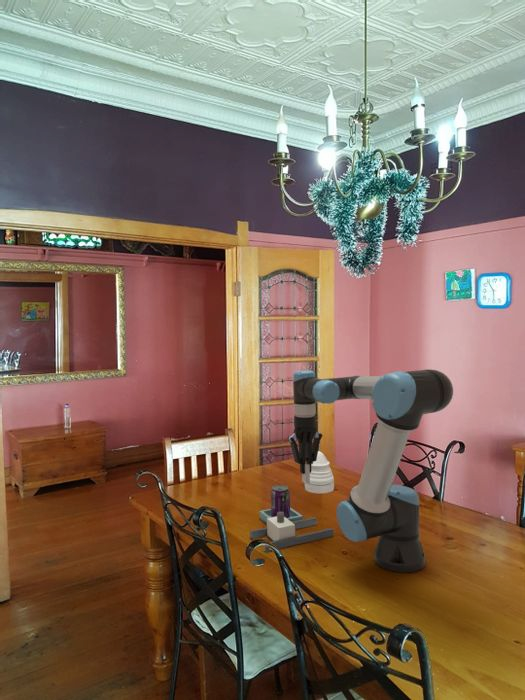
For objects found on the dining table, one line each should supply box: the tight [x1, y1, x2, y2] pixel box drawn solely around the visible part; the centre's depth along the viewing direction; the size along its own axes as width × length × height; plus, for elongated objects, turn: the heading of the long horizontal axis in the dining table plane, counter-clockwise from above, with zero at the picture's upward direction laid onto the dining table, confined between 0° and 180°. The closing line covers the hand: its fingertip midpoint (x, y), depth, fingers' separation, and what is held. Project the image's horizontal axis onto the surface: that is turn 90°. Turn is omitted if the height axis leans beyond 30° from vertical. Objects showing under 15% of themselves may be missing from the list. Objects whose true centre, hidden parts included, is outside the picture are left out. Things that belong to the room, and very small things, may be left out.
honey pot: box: [304, 450, 335, 494], centre depth 227 cm, size 13×13×18 cm
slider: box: [266, 512, 296, 541], centre depth 175 cm, size 9×6×9 cm, turn 25°
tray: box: [259, 507, 304, 525], centre depth 191 cm, size 12×12×3 cm
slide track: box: [249, 516, 334, 553], centre depth 177 cm, size 12×26×2 cm, turn 115°
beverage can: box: [270, 484, 291, 518], centre depth 191 cm, size 7×7×12 cm
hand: (305, 482), depth 179 cm, fingers closed
